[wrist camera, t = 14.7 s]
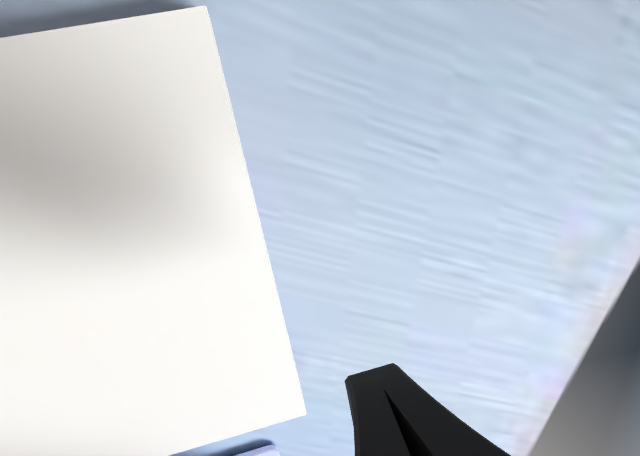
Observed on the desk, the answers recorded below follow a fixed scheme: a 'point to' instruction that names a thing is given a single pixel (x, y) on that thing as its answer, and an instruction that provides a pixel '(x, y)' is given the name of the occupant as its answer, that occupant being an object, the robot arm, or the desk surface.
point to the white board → (131, 247)
